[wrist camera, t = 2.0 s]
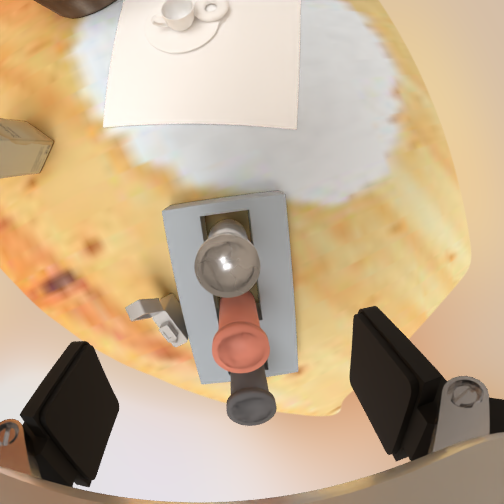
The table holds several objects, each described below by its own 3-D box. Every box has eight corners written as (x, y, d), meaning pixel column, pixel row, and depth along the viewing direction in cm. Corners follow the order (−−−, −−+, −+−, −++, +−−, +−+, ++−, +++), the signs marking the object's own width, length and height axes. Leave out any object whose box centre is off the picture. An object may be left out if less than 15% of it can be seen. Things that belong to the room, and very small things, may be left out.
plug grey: (248, 211, 26) (256, 230, 18) (253, 257, 27) (263, 293, 20) (201, 218, 26) (189, 240, 18) (208, 263, 27) (200, 301, 19)
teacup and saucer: (230, -4, 23) (231, -22, 19) (224, 54, 25) (224, 39, 21) (151, -1, 22) (143, -18, 18) (140, 56, 24) (129, 43, 20)
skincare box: (55, 141, 26) (-16, 137, 15) (39, 175, 27) (-32, 186, 15) (25, 120, 25) (-44, 112, 13) (10, 152, 26) (-58, 156, 14)
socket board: (278, 190, 30) (285, 194, 26) (291, 352, 35) (298, 371, 32) (170, 205, 29) (161, 210, 26) (203, 363, 35) (201, 384, 31)
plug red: (256, 280, 28) (267, 323, 20) (261, 319, 29) (272, 369, 21) (212, 286, 28) (206, 330, 20) (219, 325, 29) (217, 376, 21)
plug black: (263, 338, 30) (274, 390, 22) (267, 369, 31) (277, 421, 23) (223, 343, 30) (222, 396, 22) (229, 374, 31) (231, 427, 23)
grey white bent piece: (192, 321, 33) (184, 362, 26) (180, 327, 33) (169, 369, 26) (157, 270, 31) (136, 302, 24) (144, 277, 31) (122, 311, 24)
